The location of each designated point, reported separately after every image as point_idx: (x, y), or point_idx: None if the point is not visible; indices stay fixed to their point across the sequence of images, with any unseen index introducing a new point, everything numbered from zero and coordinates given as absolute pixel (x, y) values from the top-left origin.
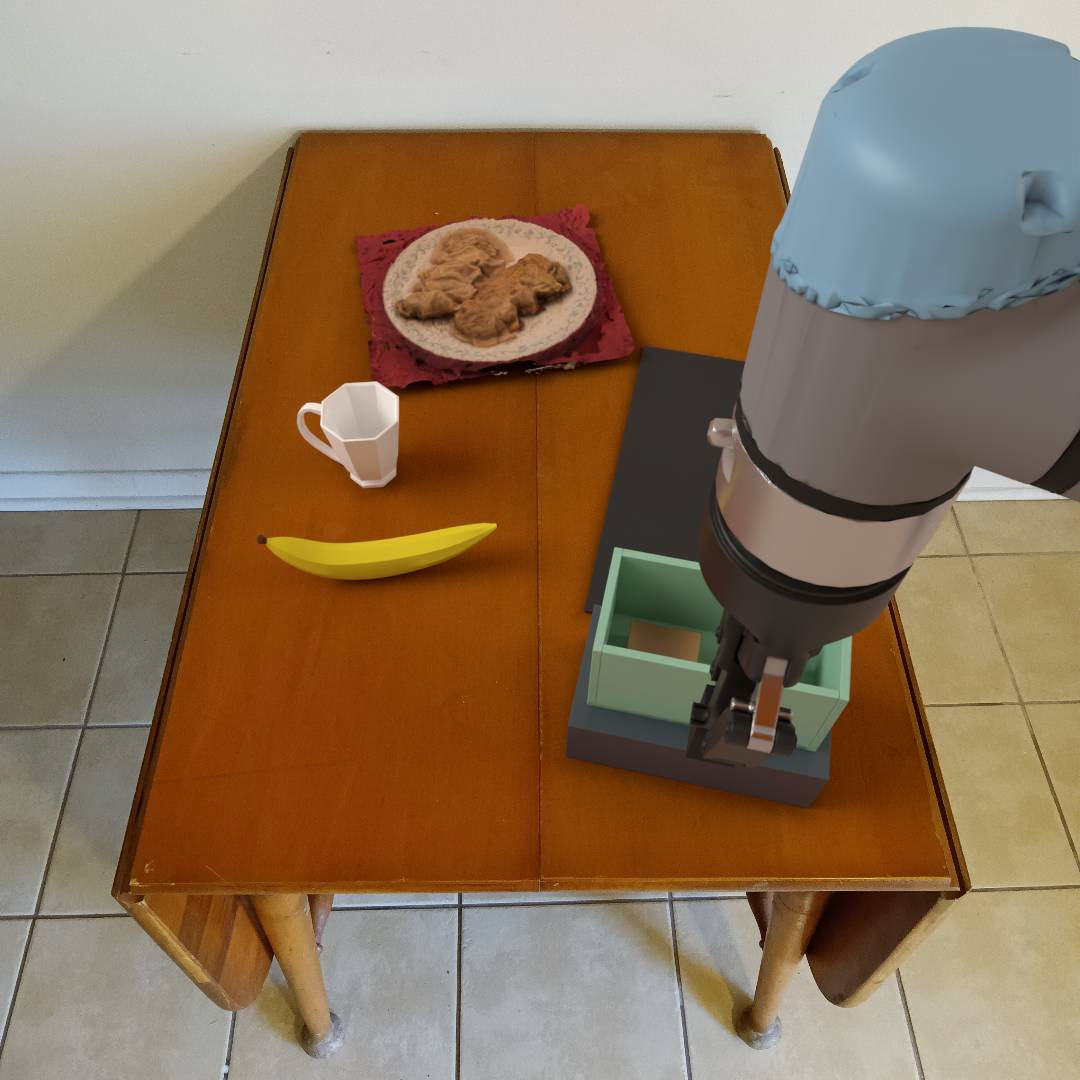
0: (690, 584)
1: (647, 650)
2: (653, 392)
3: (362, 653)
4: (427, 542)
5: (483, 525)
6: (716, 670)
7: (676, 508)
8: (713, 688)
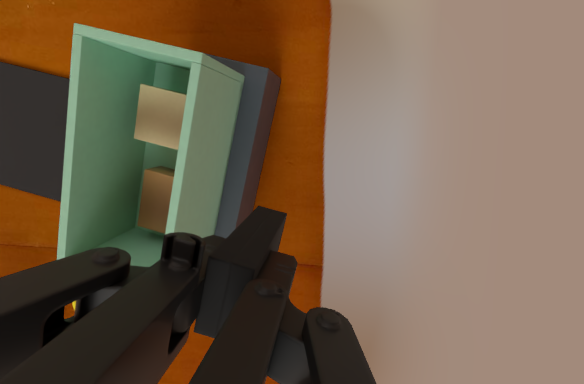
0: (92, 189)
1: (163, 216)
2: None
3: (180, 361)
4: None
5: (74, 306)
6: (168, 365)
7: (49, 148)
8: (200, 324)
